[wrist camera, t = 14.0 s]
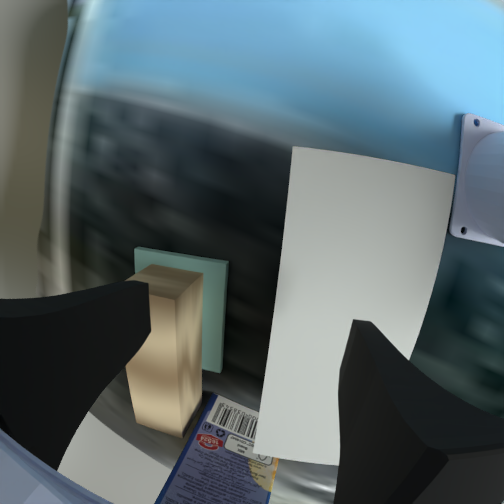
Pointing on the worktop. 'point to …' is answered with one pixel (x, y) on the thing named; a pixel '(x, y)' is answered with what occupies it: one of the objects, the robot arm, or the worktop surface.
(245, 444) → the beverage box
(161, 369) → the beech bar
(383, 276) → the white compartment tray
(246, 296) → the worktop surface
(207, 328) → the teal mat
